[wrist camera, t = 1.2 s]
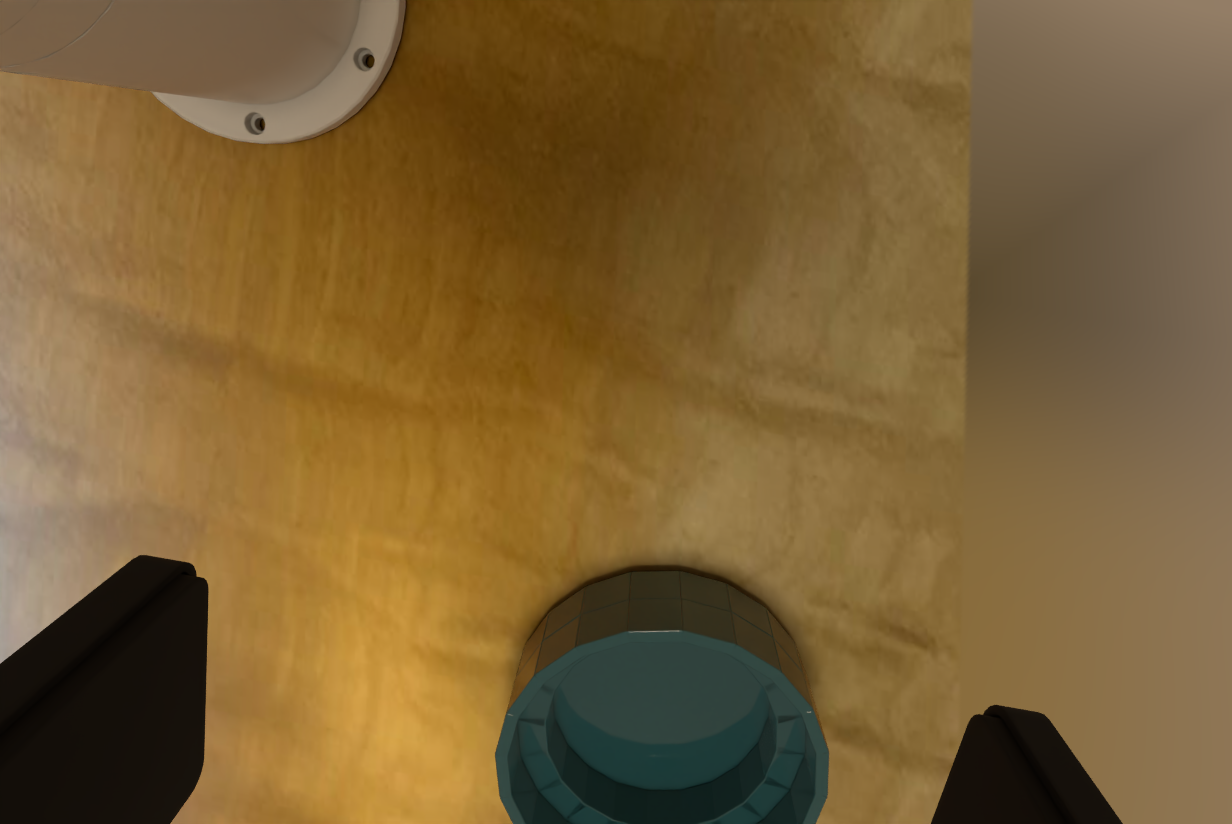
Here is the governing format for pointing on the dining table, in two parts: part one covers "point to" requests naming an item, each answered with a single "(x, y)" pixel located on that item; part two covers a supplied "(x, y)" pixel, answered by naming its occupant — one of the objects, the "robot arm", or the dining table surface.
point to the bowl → (661, 711)
